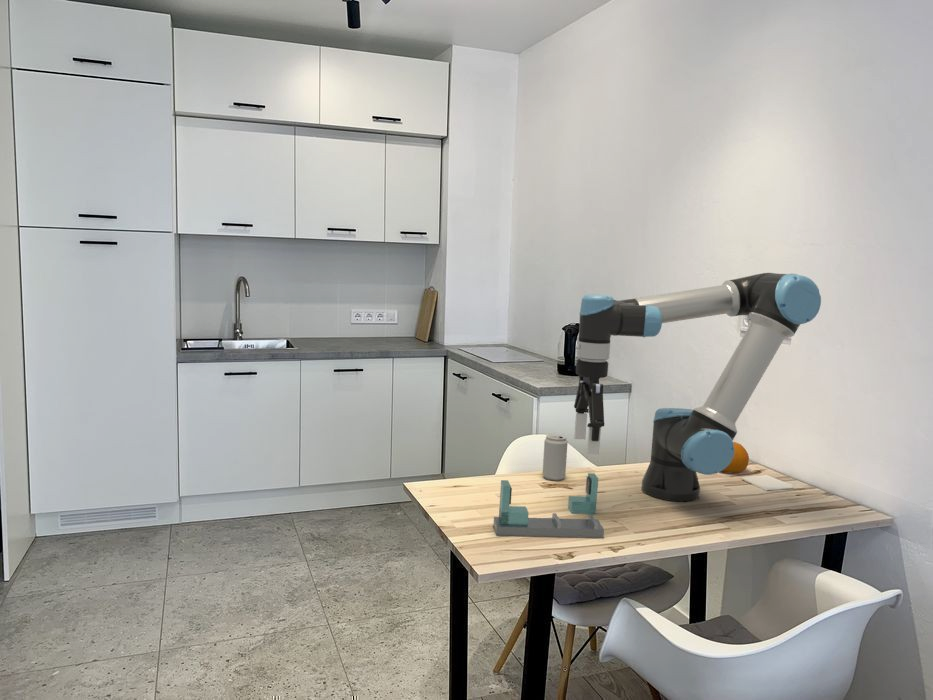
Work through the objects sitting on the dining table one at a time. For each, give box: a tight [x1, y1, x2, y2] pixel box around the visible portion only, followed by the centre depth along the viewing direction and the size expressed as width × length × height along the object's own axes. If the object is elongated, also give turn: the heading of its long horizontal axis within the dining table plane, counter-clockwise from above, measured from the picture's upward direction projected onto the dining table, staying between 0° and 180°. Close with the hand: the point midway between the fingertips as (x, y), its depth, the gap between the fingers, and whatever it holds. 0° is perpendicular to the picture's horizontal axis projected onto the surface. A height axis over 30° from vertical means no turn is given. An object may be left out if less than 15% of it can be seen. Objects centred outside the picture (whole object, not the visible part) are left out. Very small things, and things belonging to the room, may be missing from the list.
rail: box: [492, 479, 605, 539], centre depth 163 cm, size 24×6×11 cm, turn 94°
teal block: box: [567, 472, 599, 515], centre depth 178 cm, size 6×4×9 cm, turn 94°
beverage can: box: [542, 433, 569, 482], centre depth 203 cm, size 6×6×12 cm
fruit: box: [720, 441, 750, 474], centre depth 220 cm, size 12×12×10 cm
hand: (586, 446), depth 176 cm, fingers open, 13 cm apart
